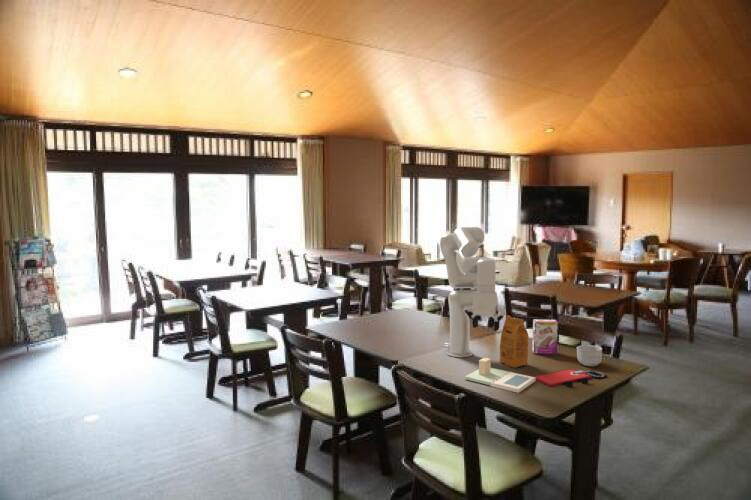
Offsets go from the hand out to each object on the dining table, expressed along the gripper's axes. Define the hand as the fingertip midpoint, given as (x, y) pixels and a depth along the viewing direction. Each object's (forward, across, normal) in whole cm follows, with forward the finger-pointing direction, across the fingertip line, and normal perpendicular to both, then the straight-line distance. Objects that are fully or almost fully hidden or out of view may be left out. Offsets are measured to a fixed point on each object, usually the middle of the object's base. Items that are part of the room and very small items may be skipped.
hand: (485, 328), depth 219 cm
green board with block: (+21, 0, 0) cm, 21 cm away
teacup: (+21, +29, +46) cm, 59 cm away
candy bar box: (+21, +6, +50) cm, 54 cm away
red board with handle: (+22, +29, +22) cm, 42 cm away
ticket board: (+21, +12, 0) cm, 25 cm away
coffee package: (+21, +1, +24) cm, 32 cm away
